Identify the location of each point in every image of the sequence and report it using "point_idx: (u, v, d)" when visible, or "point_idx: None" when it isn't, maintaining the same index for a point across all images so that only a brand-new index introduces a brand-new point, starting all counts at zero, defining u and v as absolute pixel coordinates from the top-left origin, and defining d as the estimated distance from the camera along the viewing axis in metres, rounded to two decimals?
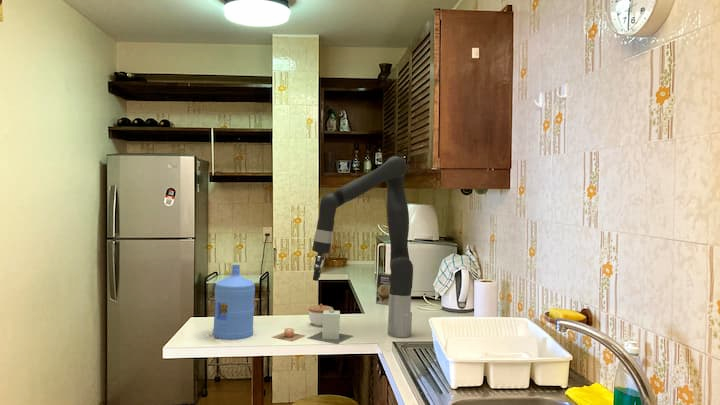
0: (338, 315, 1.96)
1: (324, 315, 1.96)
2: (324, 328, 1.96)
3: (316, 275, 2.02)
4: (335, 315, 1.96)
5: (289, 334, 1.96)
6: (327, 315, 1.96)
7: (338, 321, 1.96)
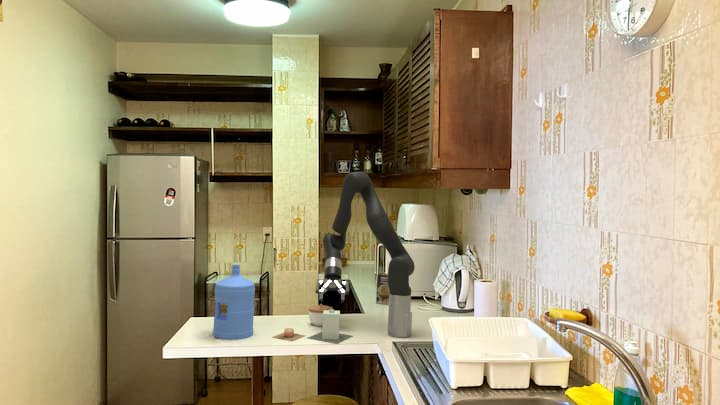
0: (338, 315, 1.96)
1: (324, 315, 1.96)
2: (324, 328, 1.96)
3: (319, 296, 2.08)
4: (335, 315, 1.96)
5: (289, 334, 1.96)
6: (327, 315, 1.96)
7: (338, 321, 1.96)
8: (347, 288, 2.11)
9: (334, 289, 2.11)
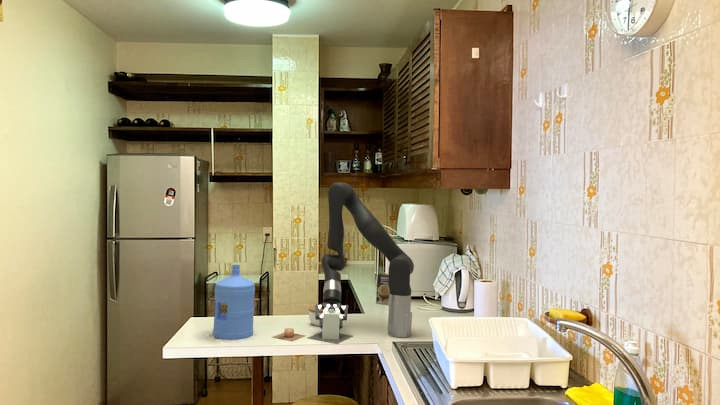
0: (338, 315, 1.96)
1: (324, 315, 1.96)
2: (324, 328, 1.96)
3: None
4: (335, 315, 1.96)
5: (289, 334, 1.96)
6: (327, 315, 1.96)
7: (338, 321, 1.96)
8: (345, 314, 2.01)
9: None
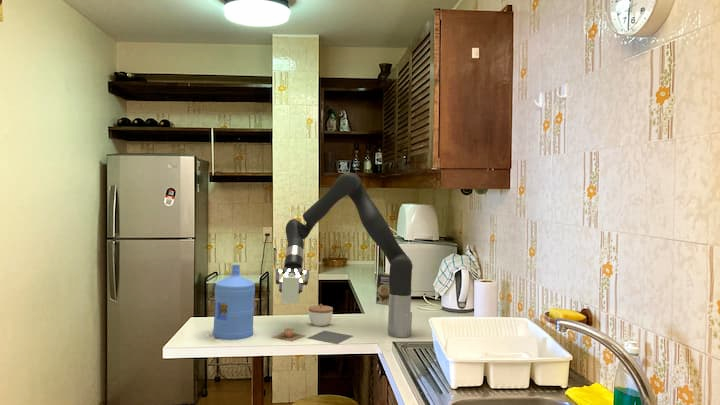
0: (297, 279, 1.94)
1: (283, 278, 1.94)
2: (283, 292, 1.94)
3: (279, 286, 1.97)
4: (294, 279, 1.94)
5: (289, 334, 1.96)
6: (286, 278, 1.94)
7: (298, 285, 1.94)
8: (306, 278, 2.00)
9: None
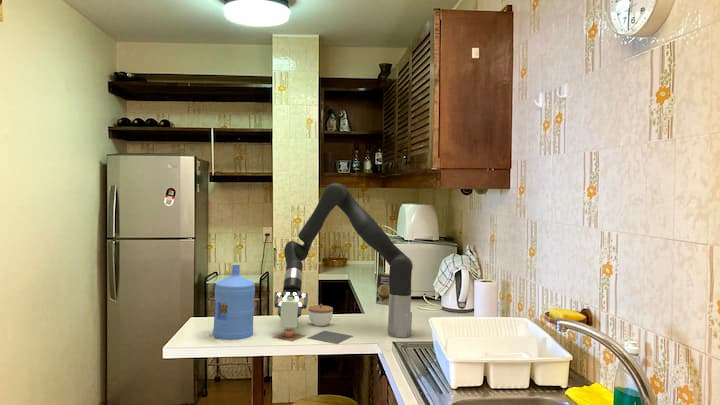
0: (296, 303, 1.94)
1: (282, 303, 1.94)
2: (282, 316, 1.94)
3: (278, 310, 1.97)
4: (293, 303, 1.94)
5: (289, 334, 1.96)
6: (285, 303, 1.94)
7: (296, 309, 1.94)
8: (305, 302, 2.00)
9: None
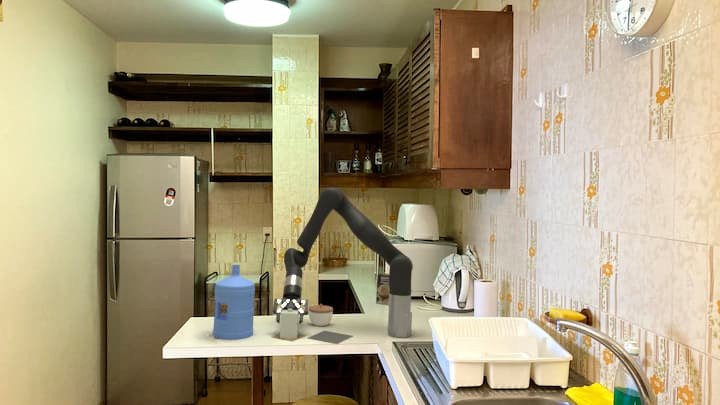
0: (296, 314, 1.94)
1: (282, 314, 1.94)
2: (282, 327, 1.94)
3: (276, 317, 1.97)
4: (293, 314, 1.94)
5: None
6: (285, 314, 1.94)
7: (296, 320, 1.94)
8: (306, 308, 2.00)
9: None
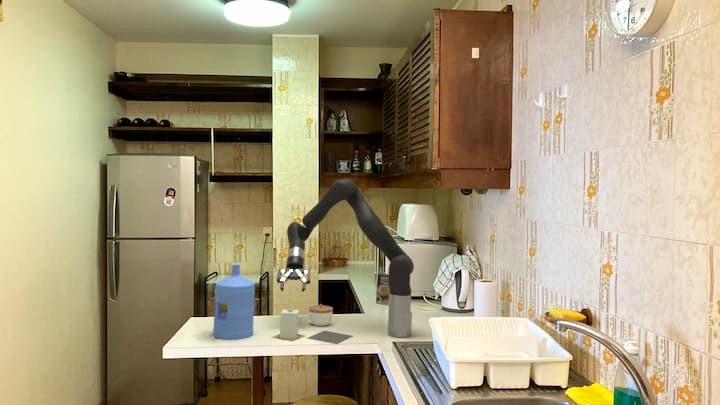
0: (296, 314, 1.94)
1: (282, 314, 1.94)
2: (282, 327, 1.94)
3: (280, 285, 2.08)
4: (293, 314, 1.94)
5: None
6: (285, 314, 1.94)
7: (296, 320, 1.94)
8: (308, 277, 2.11)
9: (295, 278, 2.11)
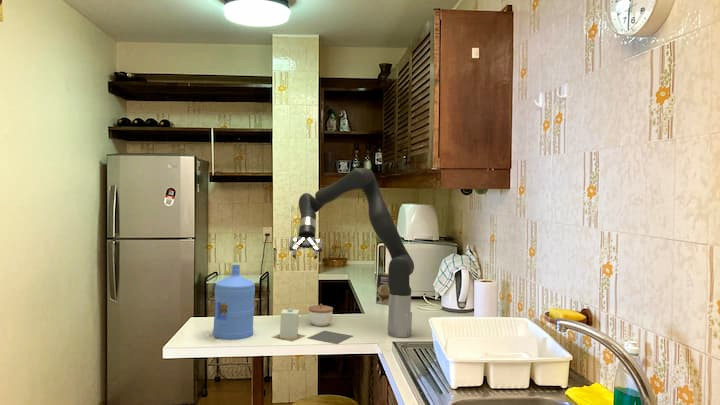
0: (296, 314, 1.94)
1: (282, 314, 1.94)
2: (282, 327, 1.94)
3: None
4: (293, 314, 1.94)
5: None
6: (285, 314, 1.94)
7: (296, 320, 1.94)
8: (320, 245, 2.14)
9: (307, 246, 2.14)
